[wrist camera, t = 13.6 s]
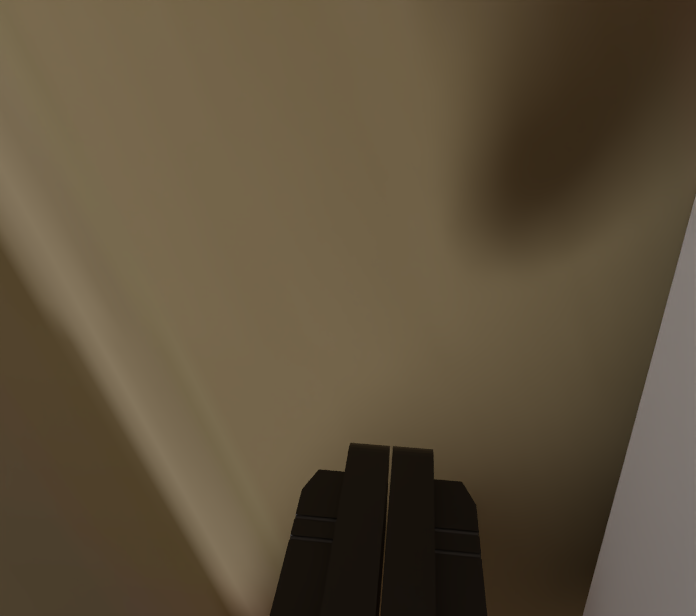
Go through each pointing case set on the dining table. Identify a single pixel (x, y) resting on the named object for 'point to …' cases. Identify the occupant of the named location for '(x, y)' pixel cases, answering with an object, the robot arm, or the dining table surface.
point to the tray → (658, 475)
